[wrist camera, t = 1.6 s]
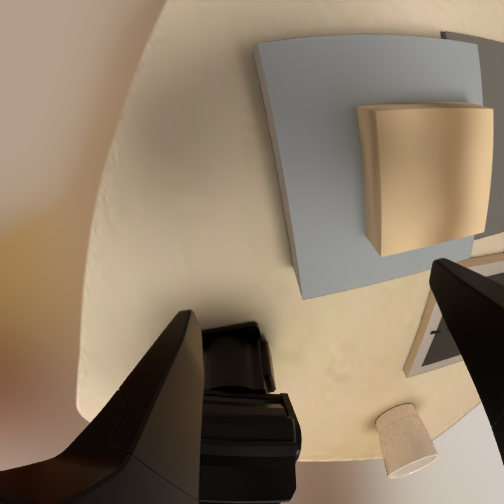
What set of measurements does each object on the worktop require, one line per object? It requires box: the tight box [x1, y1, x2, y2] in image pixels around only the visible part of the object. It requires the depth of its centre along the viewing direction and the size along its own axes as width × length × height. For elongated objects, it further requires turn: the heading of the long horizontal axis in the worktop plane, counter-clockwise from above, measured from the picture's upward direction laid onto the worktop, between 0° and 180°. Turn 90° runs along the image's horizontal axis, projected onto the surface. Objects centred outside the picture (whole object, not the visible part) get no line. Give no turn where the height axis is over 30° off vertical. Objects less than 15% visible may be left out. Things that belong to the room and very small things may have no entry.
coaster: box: [356, 102, 493, 257], centre depth 15 cm, size 8×8×2 cm
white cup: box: [376, 404, 438, 479], centre depth 36 cm, size 8×8×10 cm
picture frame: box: [403, 252, 504, 378], centre depth 29 cm, size 16×3×21 cm
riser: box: [253, 34, 483, 300], centre depth 18 cm, size 14×16×4 cm
